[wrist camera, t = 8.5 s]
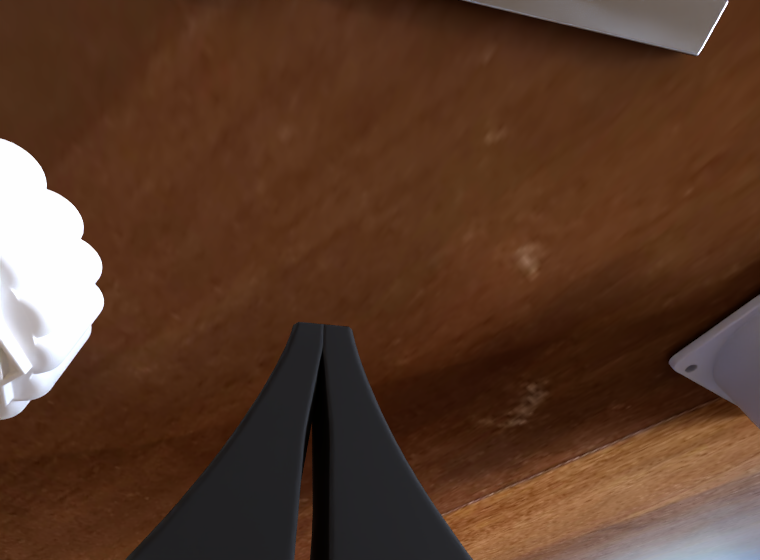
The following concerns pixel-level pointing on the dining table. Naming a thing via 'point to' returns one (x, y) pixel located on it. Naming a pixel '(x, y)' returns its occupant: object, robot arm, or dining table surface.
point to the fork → (627, 18)
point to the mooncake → (40, 282)
